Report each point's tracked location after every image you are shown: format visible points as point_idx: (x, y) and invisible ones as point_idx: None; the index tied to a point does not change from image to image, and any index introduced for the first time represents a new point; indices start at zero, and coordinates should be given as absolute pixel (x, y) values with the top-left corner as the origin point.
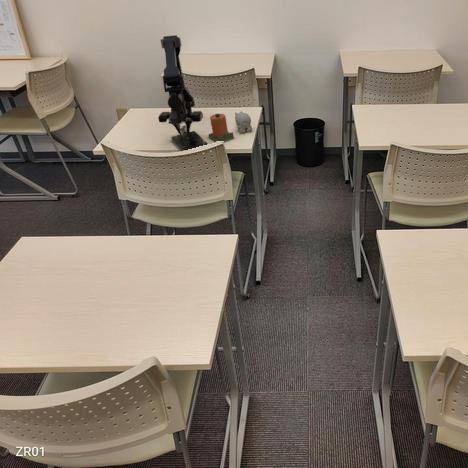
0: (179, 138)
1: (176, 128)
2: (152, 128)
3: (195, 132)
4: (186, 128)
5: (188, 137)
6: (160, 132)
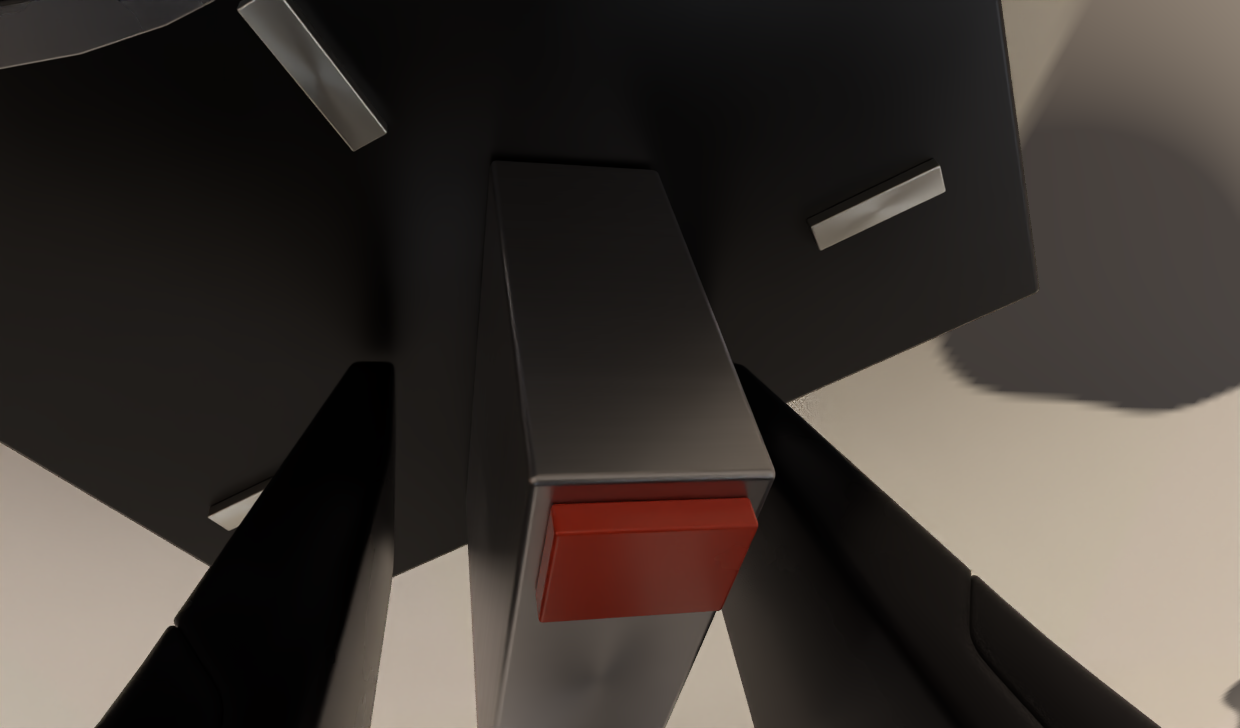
0: (749, 130)
1: (961, 598)
2: (1173, 657)
3: (197, 548)
4: (479, 665)
5: (321, 188)
6: (1105, 571)
